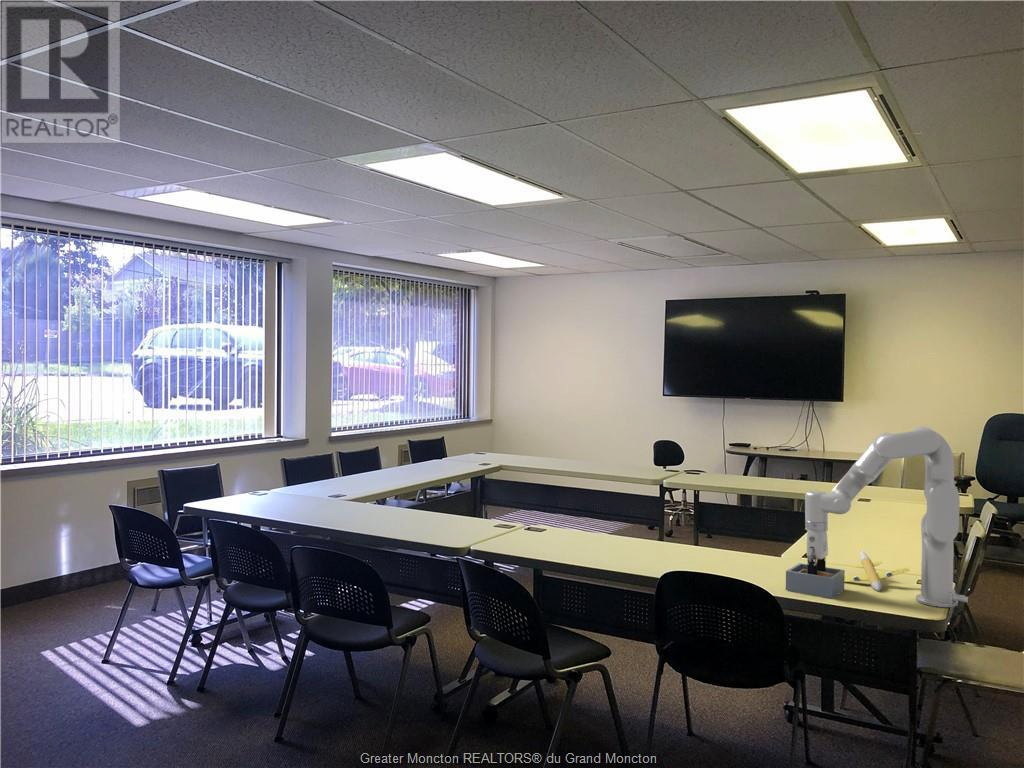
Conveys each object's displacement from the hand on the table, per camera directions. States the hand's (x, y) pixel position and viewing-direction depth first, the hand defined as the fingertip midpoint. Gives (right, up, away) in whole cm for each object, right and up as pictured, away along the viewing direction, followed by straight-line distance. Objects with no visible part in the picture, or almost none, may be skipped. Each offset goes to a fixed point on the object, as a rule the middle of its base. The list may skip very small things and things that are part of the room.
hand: (816, 573), depth 278 cm
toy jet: (+24, -6, +11) cm, 27 cm away
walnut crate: (0, -5, 0) cm, 5 cm away
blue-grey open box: (-1, -6, 0) cm, 6 cm away
